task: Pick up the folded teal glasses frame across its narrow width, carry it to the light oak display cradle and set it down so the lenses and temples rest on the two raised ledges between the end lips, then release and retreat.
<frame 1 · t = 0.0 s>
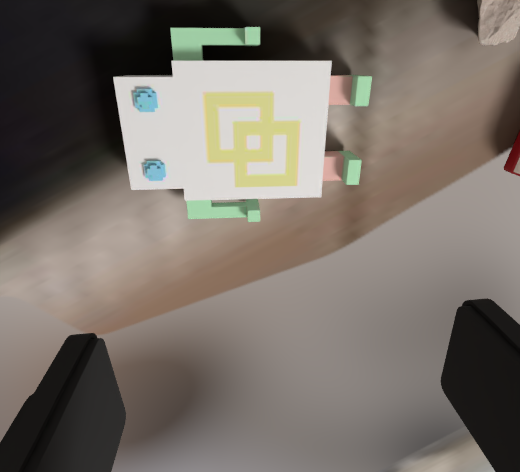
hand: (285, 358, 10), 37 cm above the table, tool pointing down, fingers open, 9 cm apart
decorative block: (244, 126, 44), on the table
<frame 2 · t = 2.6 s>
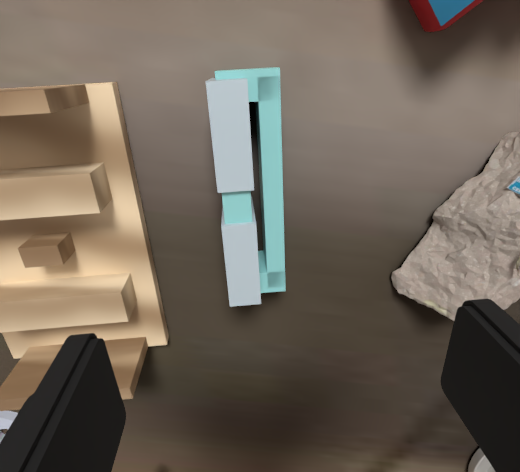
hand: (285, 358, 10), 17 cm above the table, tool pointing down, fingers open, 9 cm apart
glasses: (236, 182, 25), on the table
concrete fragment: (465, 223, 28), on the table
cradle: (61, 236, 25), on the table
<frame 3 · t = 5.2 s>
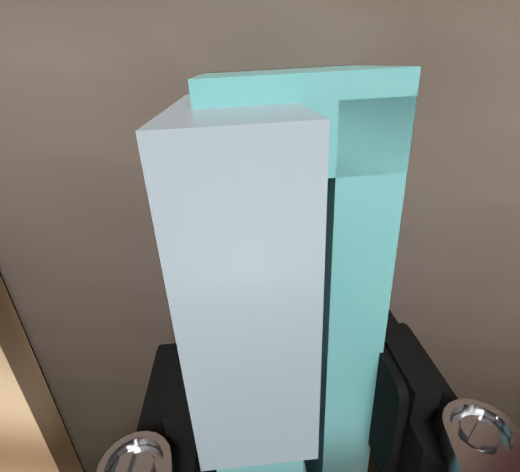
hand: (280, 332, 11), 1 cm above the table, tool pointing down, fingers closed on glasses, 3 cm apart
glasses: (248, 322, 11), on the table, touching gripper
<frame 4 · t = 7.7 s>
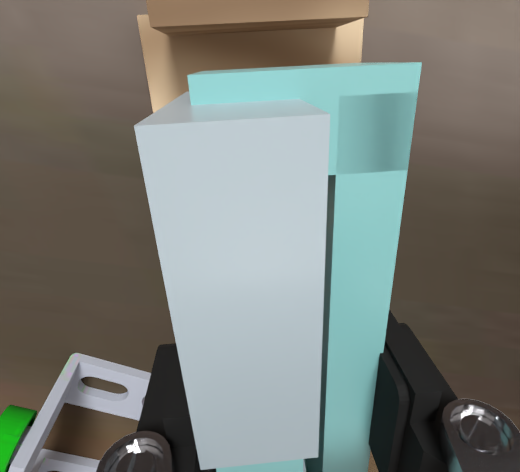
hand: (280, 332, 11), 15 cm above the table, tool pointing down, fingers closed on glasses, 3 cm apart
bracket: (164, 445, 35), on the table
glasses: (248, 321, 11), point 14 cm above the table, touching gripper
cradle: (259, 182, 24), on the table
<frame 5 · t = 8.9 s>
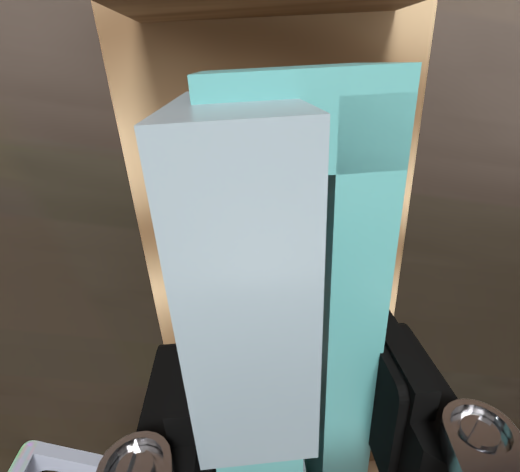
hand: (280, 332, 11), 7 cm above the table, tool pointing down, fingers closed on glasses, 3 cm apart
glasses: (248, 321, 11), point 7 cm above the table, touching gripper
cradle: (274, 230, 17), on the table
when the fingers open (5 cm above the table, at t = 10.0 s): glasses drops 1 cm, resting on cradle.
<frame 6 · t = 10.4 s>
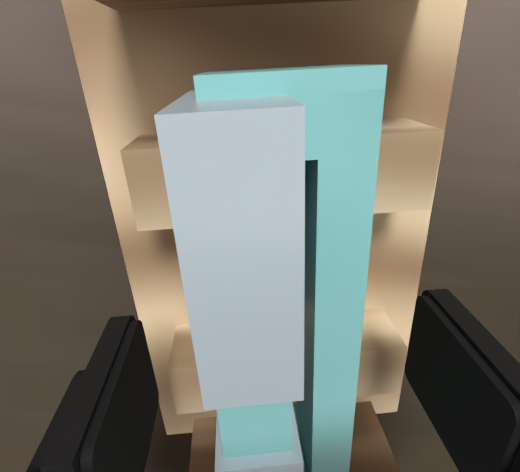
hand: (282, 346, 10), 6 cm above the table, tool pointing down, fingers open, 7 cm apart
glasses: (246, 299, 12), point 3 cm above the table, touching cradle
cradle: (276, 248, 15), on the table
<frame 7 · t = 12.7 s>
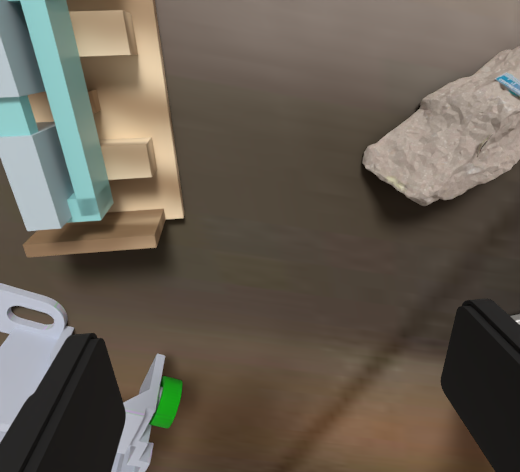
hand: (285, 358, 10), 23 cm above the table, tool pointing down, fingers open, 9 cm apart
bracket: (42, 362, 38), on the table
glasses: (46, 105, 24), point 3 cm above the table, touching cradle
concrete fragment: (439, 128, 31), on the table
cradle: (86, 99, 27), on the table
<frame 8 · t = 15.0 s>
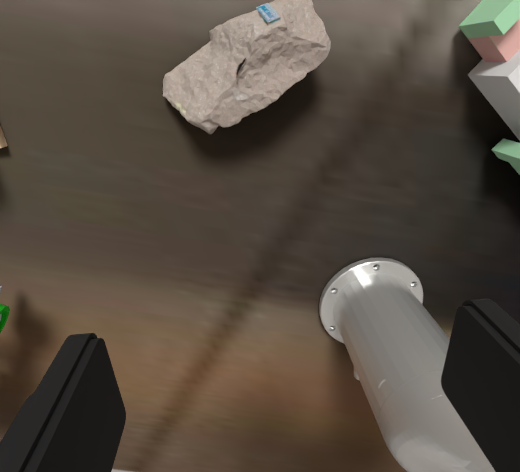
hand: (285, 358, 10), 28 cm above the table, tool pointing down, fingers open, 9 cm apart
concrete fragment: (239, 66, 32), on the table
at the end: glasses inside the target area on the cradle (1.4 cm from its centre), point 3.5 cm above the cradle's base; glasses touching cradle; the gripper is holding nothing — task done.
